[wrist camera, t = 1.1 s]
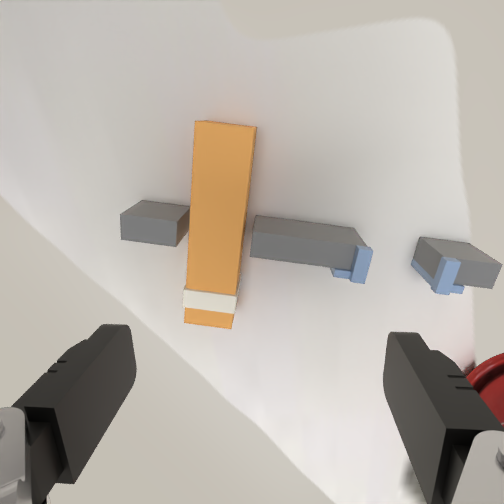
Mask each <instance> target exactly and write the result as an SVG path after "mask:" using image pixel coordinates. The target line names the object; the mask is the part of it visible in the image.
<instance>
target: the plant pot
mask: <svg viewBox="0 0 504 504" xmlns="http://www.w3.org/2000/svg"><path fill="white" fill-rule="evenodd" d="M466 378H467V379H468V381H469V382H470V383H471V385H472V386H473V389H474V390H476V391H477V393H478V394H479V395H480V397H481V398H482V399H483V401H484V402H485V403H486V405H487V406H488V407H489V409H490V410H491V411H492V413H493V414H494V415H495V417H496V418H497V419H498V421H499V422H500V423H501V425H502V426H503V427H504V353H502V354H499V355H496V356H494V357H492V358H490V359H488V360H486V361H484V362H483V363H481V364H480V365H478V366H477V367H476V368H475V369H474V370H472V371H471V372H470V374H469V375H468V376H467V377H466Z"/></svg>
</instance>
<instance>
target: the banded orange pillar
mask: <svg viewBox="0 0 504 504" xmlns="http://www.w3.org/2000/svg"><path fill="white" fill-rule="evenodd" d="M256 129H257V127H252V126H244V125H236V124H229V123H221V122H213V121H195V131H194V149H193V168H192V186H191V205H190V223H189V242H188V261H187V279H186V285H185V287H184V289H183V305H182V307H185V316H184V323H189V324H197V325H204V326H211V327H219V328H226V329H231V328H232V323H233V318H234V314H235V309H236V304H237V299H238V294H239V289H240V281H241V274H240V267H241V258H242V249H243V241H244V232H245V224H246V215H247V207H248V198H249V189H250V181H251V172H252V164H253V155H254V147H255V138H256Z"/></svg>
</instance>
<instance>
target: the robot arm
mask: <svg viewBox="0 0 504 504" xmlns="http://www.w3.org/2000/svg"><path fill="white" fill-rule="evenodd" d="M135 378H136V361H135V355H134V348H133V342H132V335H131V330H130V328H129V326H128V325H117V324H115V325H114V324H103V325H101V326H100V327H99V328H98V329H97V330H96V331H95V332H94V333H93V334H92V335H91V336H90V338H89V339H88V340H83V341H81V342H80V343H78V344H76V345H75V346H73V347H71V348H70V349H68V350H67V351H66V352H65V353H64V354H63V355H62V356H61V357H60V358H59V359H58V360H57V363H54V364H53V365H52V366H51V367H50V368H49V369H48V372H47V373H44V374H43V375H42V376H41V377H40V378H39V379H38V380H37V381H36V383H34V384H33V385H32V386H31V387H30V388H29V389H28V390H27V391H26V392H25V393H24V394H23V395H22V396H21V397H20V398H19V399H18V400H17V401H16V402H15V403H14V404H13V405H12V406H11V407H4V408H0V504H51V503H50V498H49V495H48V494H49V492H50V490H51V489H52V487H53V486H54V484H55V483H64V484H74V483H75V482H76V480H77V479H78V477H79V475H80V474H81V472H82V470H83V468H84V467H85V465H86V464H87V462H88V460H89V459H90V457H91V455H92V454H93V452H94V450H95V448H96V447H97V445H98V443H99V442H100V440H101V438H102V437H103V435H104V433H105V432H106V430H107V428H108V427H109V425H110V423H111V422H112V420H113V418H114V417H115V415H116V413H117V411H118V410H119V408H120V407H121V405H122V403H123V402H124V400H125V398H126V397H127V395H128V393H129V392H130V390H131V388H132V386H133V384H134V381H135ZM383 386H384V393H385V397H386V400H387V402H388V405H389V407H390V410H391V412H392V415H393V417H394V420H395V423H396V425H397V428H398V430H399V433H400V435H401V438H402V441H403V443H404V446H405V448H406V451H407V453H408V456H409V459H410V461H411V464H412V466H413V469H414V471H415V474H416V477H417V479H418V482H419V484H420V487H421V489H422V492H423V495H424V497H425V500H426V502H427V504H504V427H503V426H502V425H501V423H500V422H499V421H498V419H497V418H496V417H495V415H494V414H493V413H492V411H491V410H490V409H489V407H488V406H487V405H486V403H485V402H484V401H483V399H482V398H481V397H480V395H479V394H478V393H477V391H476V390H474V389H473V386H472V385H471V383H470V382H469V381H468V379H467V378H465V375H464V374H463V373H462V371H461V370H460V369H459V367H458V366H457V365H456V363H455V362H454V361H452V360H451V359H449V358H448V357H447V356H445V355H444V354H443V353H441V352H440V351H438V350H430V349H429V348H428V346H427V345H426V343H425V342H424V340H423V339H422V338H421V336H420V335H419V334H418V333H415V332H390V333H389V335H388V340H387V348H386V356H385V364H384V373H383Z"/></svg>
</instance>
